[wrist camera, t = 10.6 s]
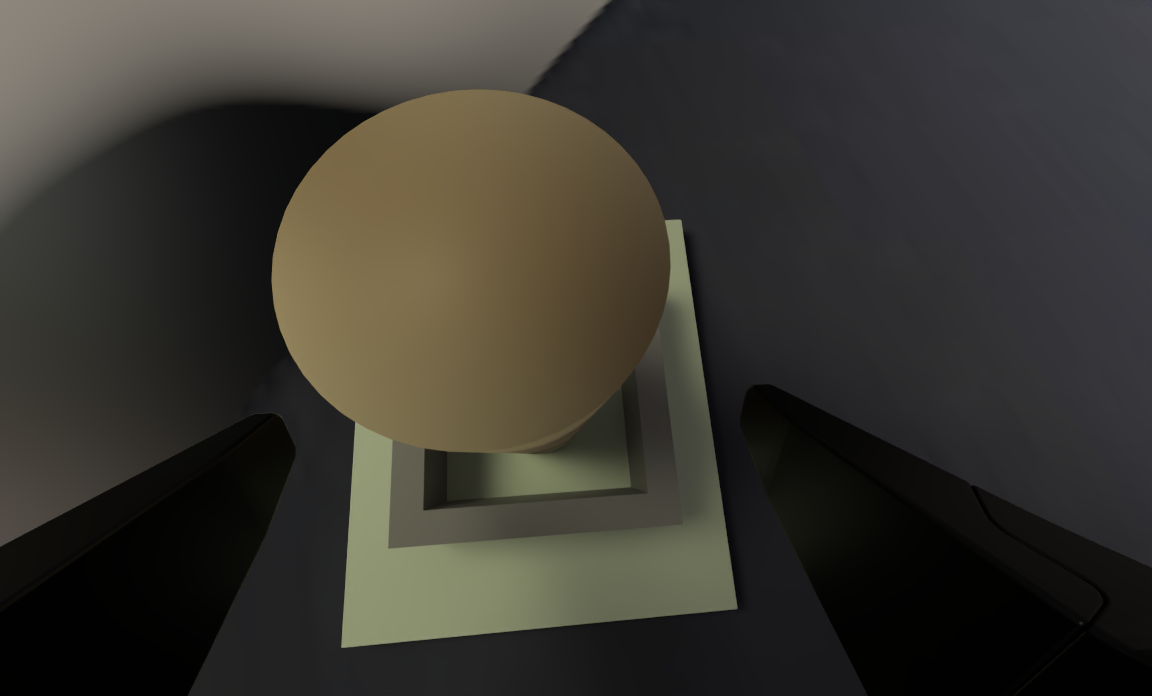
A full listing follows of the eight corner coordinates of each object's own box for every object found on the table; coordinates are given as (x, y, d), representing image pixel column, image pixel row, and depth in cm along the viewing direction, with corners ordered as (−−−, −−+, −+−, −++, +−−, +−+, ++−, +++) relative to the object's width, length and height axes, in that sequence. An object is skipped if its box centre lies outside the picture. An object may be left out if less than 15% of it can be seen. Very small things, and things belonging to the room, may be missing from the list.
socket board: (726, 600, 16) (780, 643, 13) (354, 635, 15) (288, 695, 12) (674, 230, 20) (703, 178, 17) (376, 240, 19) (333, 186, 16)
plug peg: (567, 468, 16) (599, 515, 4) (470, 433, 16) (190, 366, 4) (599, 372, 17) (713, 154, 5) (508, 340, 17) (382, 47, 5)
